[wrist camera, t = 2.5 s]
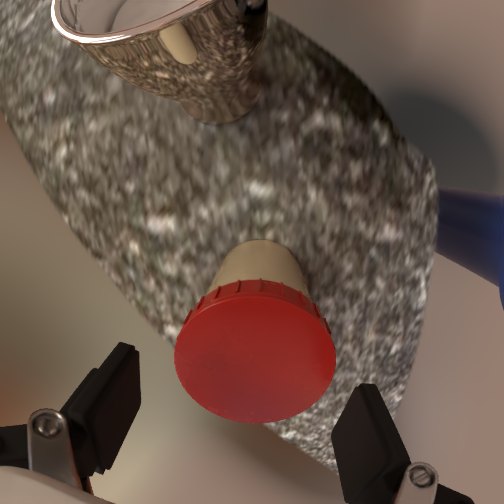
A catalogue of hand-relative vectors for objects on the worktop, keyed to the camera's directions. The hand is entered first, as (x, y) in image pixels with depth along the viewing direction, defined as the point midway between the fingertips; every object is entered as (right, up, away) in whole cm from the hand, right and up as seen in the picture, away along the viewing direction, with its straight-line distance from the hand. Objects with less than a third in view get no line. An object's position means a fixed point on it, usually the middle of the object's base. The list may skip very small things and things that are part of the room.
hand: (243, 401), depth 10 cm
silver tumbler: (-2, +18, +9) cm, 20 cm away
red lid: (0, +1, +2) cm, 2 cm away
